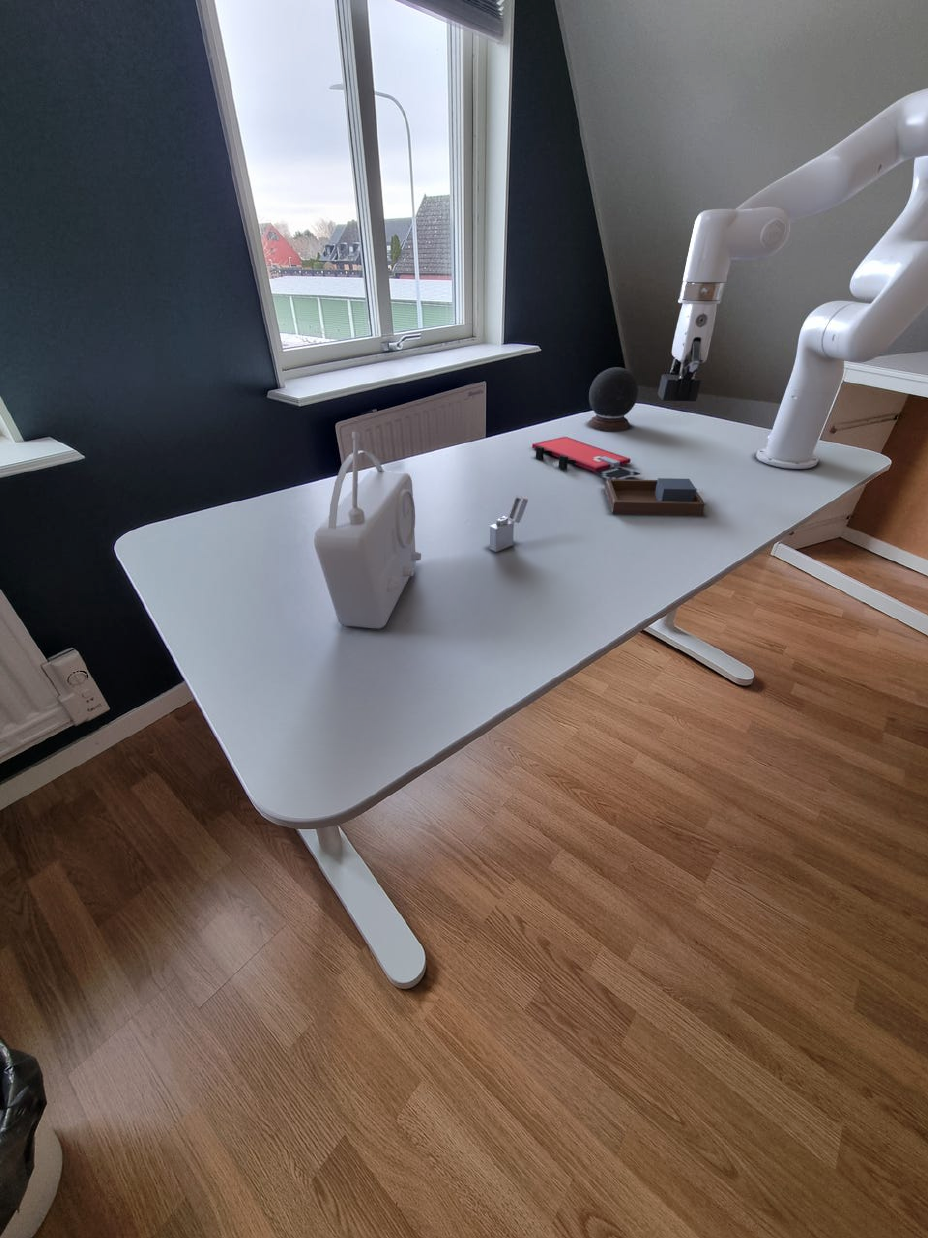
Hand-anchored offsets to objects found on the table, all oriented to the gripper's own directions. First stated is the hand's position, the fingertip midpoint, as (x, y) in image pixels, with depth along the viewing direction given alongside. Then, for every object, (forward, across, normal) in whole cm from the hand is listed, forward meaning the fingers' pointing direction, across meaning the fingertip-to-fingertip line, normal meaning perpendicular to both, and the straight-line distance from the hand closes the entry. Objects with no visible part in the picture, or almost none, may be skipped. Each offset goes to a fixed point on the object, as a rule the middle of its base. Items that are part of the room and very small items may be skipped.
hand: (677, 395), depth 104 cm
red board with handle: (+16, +4, +17) cm, 24 cm away
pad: (+15, -19, +1) cm, 25 cm away
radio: (+17, -56, +51) cm, 77 cm away
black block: (0, 0, 0) cm, 0 cm away
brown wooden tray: (+16, -19, +5) cm, 26 cm away
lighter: (+17, -39, +33) cm, 54 cm away
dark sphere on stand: (+16, +35, +8) cm, 39 cm away
